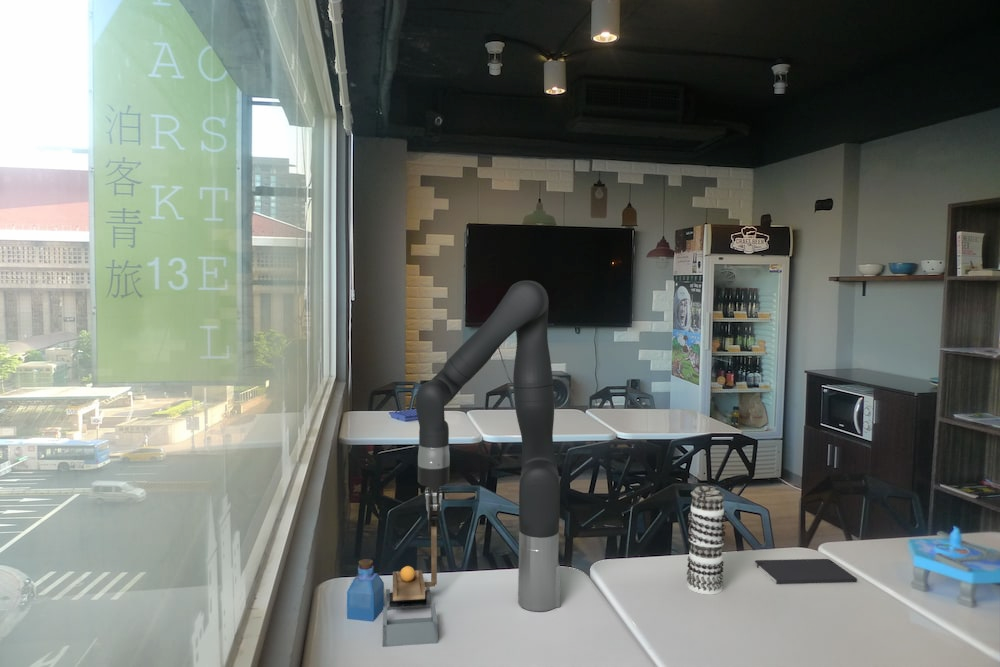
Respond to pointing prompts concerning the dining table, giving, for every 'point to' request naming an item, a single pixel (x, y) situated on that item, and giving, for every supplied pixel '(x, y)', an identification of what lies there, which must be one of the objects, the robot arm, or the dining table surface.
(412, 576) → the ball
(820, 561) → the notebook
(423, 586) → the lever
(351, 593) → the perfume bottle
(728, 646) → the dining table surface
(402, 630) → the tray
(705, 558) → the decorative candle
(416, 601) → the fulcrum
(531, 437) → the robot arm
